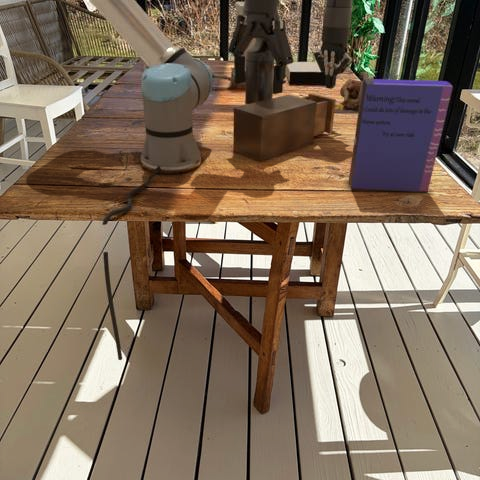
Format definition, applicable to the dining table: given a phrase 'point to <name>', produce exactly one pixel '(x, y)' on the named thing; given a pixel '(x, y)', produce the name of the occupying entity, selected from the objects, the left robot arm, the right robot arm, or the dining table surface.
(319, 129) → the drawer
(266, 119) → the cabinet
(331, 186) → the dining table surface
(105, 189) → the dining table surface
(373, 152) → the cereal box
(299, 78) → the disc drive
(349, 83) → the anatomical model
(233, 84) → the figurine
